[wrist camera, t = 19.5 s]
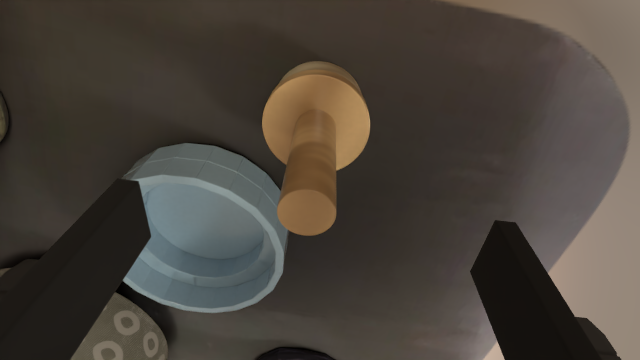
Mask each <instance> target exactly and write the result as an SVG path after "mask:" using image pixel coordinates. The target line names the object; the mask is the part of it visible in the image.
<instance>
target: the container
mask: <svg viewBox="0 0 640 360" xmlns="http://www.w3.org/2000/svg"><path fill="white" fill-rule="evenodd" d="M8 123H9V119H8V111H7V107H6V104H5V102H4V99H3V97H2V95H1V93H0V142H1V140H2V139H3V138H4V136H5V134H6V132H7V129H8Z"/></svg>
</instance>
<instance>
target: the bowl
mask: <svg viewBox="0 0 640 360" xmlns="http://www.w3.org/2000/svg"><path fill="white" fill-rule="evenodd" d="M121 179H126V180H135V181H139V184H140V188H141V193H142V197H143V202H144V206H145V211H146V215H147V219H148V224H149V228H150V233H151V238H150V240H149V241H148V243H147V244H146V246H145V247H144V249H143V250H142V252H141V253H140V255H139V256H138V258H137V259H136V261H135V263H134V264H133V266H132V267H131V269H130V270H129V272H128V273H127V275H126V276H125V278H124V279H123V281H124V282H125V283H126V284H127V285H129V286H130V287H131V288H132V289H134V290H135V291H137V292H138V293H140V294H142V295H145V296H147V297H149V298H151V299H153V300H155V301H157V302H159V303H161V304H164V305H167V306H171V307H174V308H178V309H181V310H185V311H195V312H206V313H218V312H227V311H236V310H239V309H241V308H244V307H247V306H250V305H252V304H255V303H257V302H258V301H260V300H261V299H262V298H264V297H265V296H266V295H267V294H269V293H270V292H271V291H272V290H273V289H274V288H275V286H276V284H277V282H278V280H279V279H280V277H281V275H282V273H283V268H284V262H285V256H286V250H287V243H288V237H289V230H288V229H286V228H285V227H284V226H283V225H282V224H281V222H280V220H279V218H278V215H277V206H278V201H279V197H280V193H281V191H280V190H279V188H278V187H277V186H276V184H275V183H274V182H273V181H272V179H271V178H270V177H269V175H268V174H267V173H265V172H264V171H263V170H261V169H260V168H259V167H257V166H256V165H254V164H253V163H252V162H250V161H249V160H247V159H246V158H244V157H243V156H240V155H238V154H235V153H233V152H230V151H227V150H225V149H222V148H220V147H217V146H216V147H215V146H211V145H201V144H192V143H183V144H177V145H172V146H167V147H162V148H158V149H156V150H155V151H153V152H151V153H150V154H148V155H146V156H145V157H143V158H141V159H140V160H138V161H137V162H136V163H135V164H134V165H133V167H132V168H131V169H130V170H129V171H128V172H127V173H126V174H125V175H124V176H123V177H122V178H121Z"/></svg>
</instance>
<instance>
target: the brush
mask: <svg viewBox="0 0 640 360" xmlns="http://www.w3.org/2000/svg"><path fill="white" fill-rule="evenodd" d="M262 129H263V134H264V137H265V140H266V142H267V144H268V146H269V148H270V149H271V151H272V152H273V154H274V155H275V156H276V157H277V158H278V159H279V160H280V161H282V162H283V163H284V164H286V165H287V166H286V170H285V175H284V179H283V184H282V188H281V193H280V197H279V201H278V206H277V215H278V218H279V220H280V222H281V224H282V225H283V226H284V227H285V228H286V229H288V230H289V231H291V232H293V233H296V234H299V235H305V236H311V235H317V234H320V233H323V232H325V231H326V230H328V229H329V228H330V227H331V226H332V224H333V223H334V221H335V219H336V170H339V169H341V168H343V167H345V166H347V165H349V164H350V163H351V162H352V161H354V160H355V159H356V158H357V157H358V156H359V154H360V153H361V152H362V150H363V149H364V147H365V145H366V143H367V141H368V137H369V133H370V117H369V112H368V107H367V104H366V101H365V99H364V97H363V95H362V93H361V90H360V88H359V86H358V84H357V82H356V81H355V79H354V78H353V77H352V76H351V75H350V74H349V73H348V72H347V71H346V70H344V69H343V68H341V67H339V66H337V65H335V64H332V63H329V62H323V61H313V62H307V63H303V64H301V65H298V66H296V67H294V68H293V69H291V70H290V71H289V72H288V73H287V74H286V75H285V76H284V77H283V78H282V79H281V81H280V82H279V84H278V85H277V86H276V88H275V89H274V90H273V91H272V93H271V95H270V97H269V98H268V101H267V103H266V106H265V108H264V112H263V116H262Z"/></svg>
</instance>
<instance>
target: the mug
mask: <svg viewBox="0 0 640 360" xmlns="http://www.w3.org/2000/svg"><path fill="white" fill-rule="evenodd" d="M259 360H333V359H332V358H330V357H329V356H327V355H326V354H321V353H317V352H312V351H307V350H301V349H289V348H279V349H276V350H274V351H272V352H269V353H267V354H264V355H262V356H261V358H260V359H259Z"/></svg>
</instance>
